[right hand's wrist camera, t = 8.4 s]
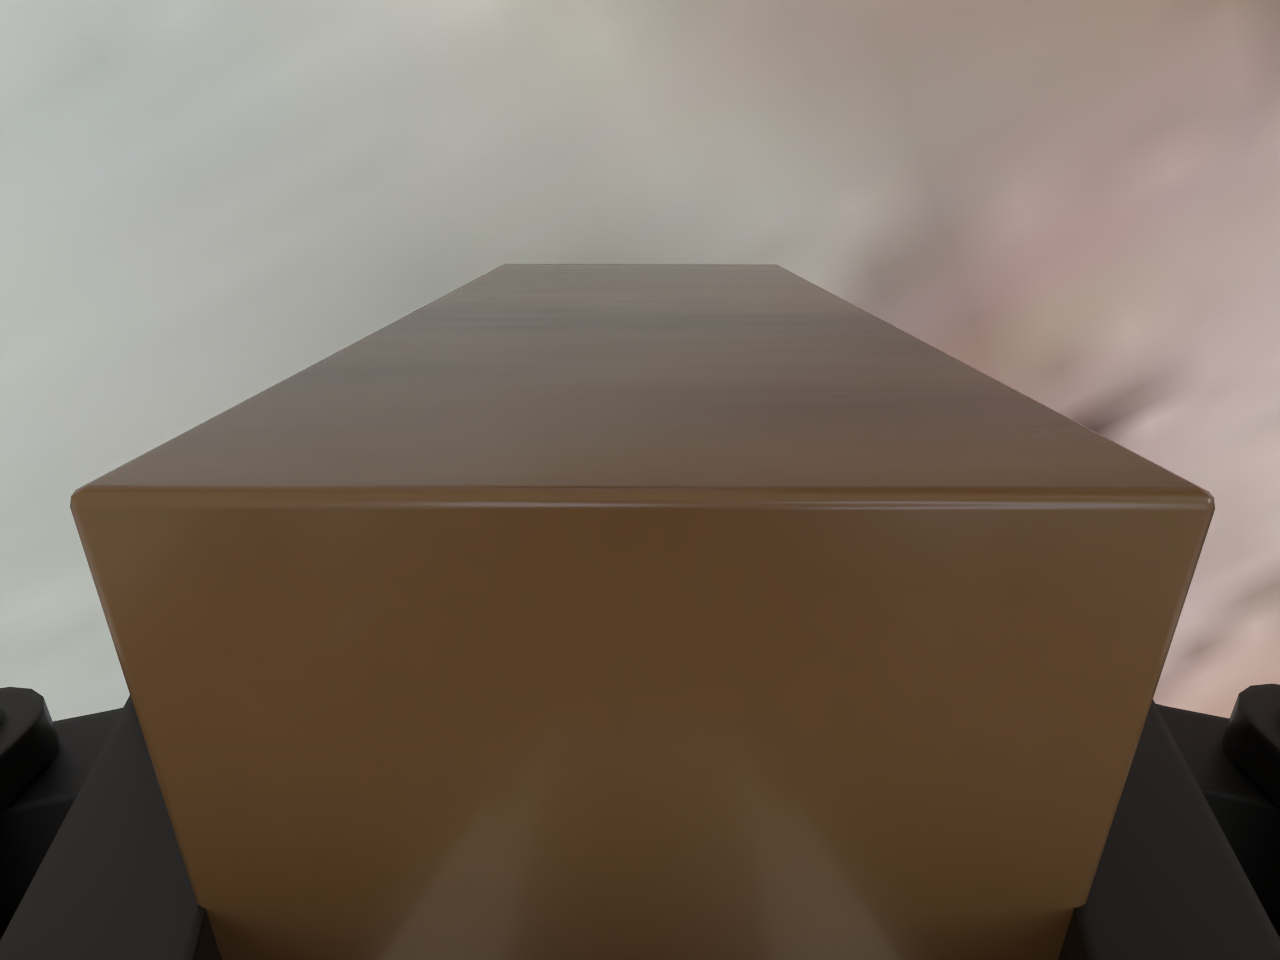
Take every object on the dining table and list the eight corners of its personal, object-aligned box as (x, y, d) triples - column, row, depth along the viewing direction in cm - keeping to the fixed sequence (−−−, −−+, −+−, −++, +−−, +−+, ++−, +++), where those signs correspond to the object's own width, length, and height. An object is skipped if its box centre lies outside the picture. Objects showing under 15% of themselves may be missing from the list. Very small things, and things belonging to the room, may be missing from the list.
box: (501, 263, 16) (54, 491, 4) (779, 263, 16) (1231, 493, 4) (549, 987, 24) (463, 1748, 12) (728, 988, 24) (812, 1747, 12)
